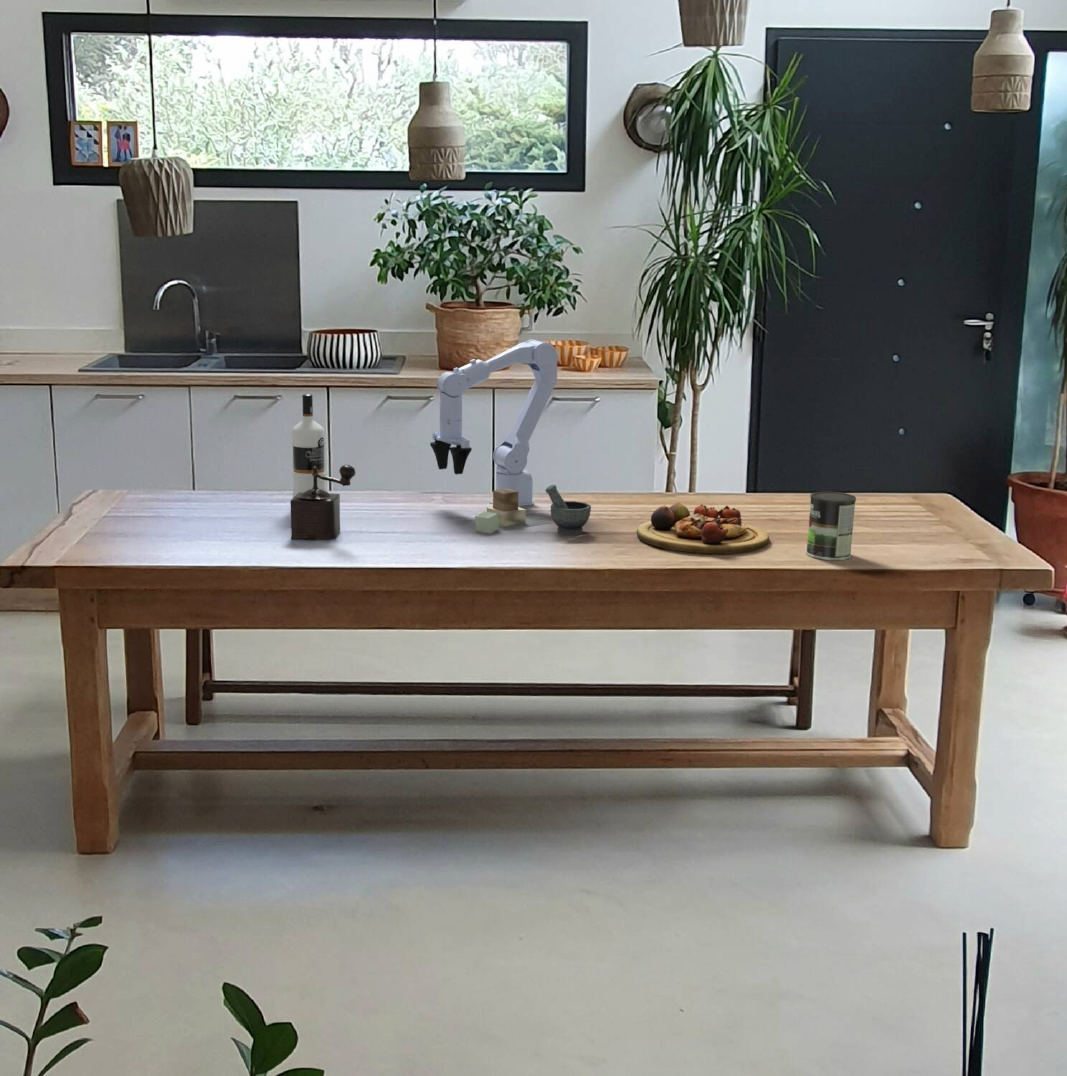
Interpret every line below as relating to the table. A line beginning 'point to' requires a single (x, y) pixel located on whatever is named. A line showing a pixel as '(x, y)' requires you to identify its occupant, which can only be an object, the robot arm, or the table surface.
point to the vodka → (307, 450)
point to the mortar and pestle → (568, 513)
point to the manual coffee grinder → (318, 509)
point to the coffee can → (830, 525)
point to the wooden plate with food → (701, 530)
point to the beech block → (509, 516)
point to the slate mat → (529, 523)
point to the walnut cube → (505, 499)
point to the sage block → (487, 522)
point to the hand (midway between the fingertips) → (450, 471)
